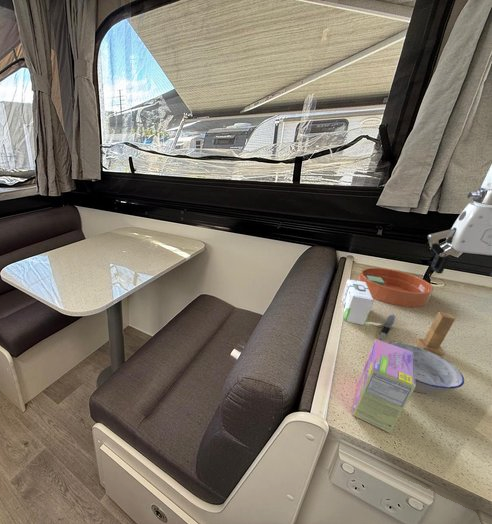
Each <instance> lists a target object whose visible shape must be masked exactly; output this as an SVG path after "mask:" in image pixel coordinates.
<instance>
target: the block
mask: <svg viewBox="0 0 492 524" xmlns="http://www.w3.org/2000/svg"><path fill="white" fill-rule="evenodd" d="M366 278H367V279H369V280H371V281H372V282H374V283H377V284H379V285H382V286H383V285H384V281H383V280H382V278H381V277H374V276H368V275H367V276H366Z"/></svg>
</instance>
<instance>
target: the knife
mask: <svg viewBox="0 0 492 524" xmlns="http://www.w3.org/2000/svg"><path fill="white" fill-rule="evenodd" d="M394 321H395V314H390V315H388V316H387V317H386V320H385V322H384V324H377V325H376V328H379V327H380V328H382V329H381V331H380V334H378V335H377V338H379V339H381V340H385V339H386V338H387V336H388V334H389V332H390V331H391V330H392V328H393V327H392V326H393V323H394Z"/></svg>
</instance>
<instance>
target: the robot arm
mask: <svg viewBox="0 0 492 524" xmlns="http://www.w3.org/2000/svg"><path fill="white" fill-rule="evenodd" d="M467 199H472V200H473V202H469V203H468V204H467V205H466V206H465V207H464V209H463V210H462V211H461V212H460V214H459V215H458V217H457V218H456V220H455V221H454V223H453V224H452V227H451V228H450V229H447V230H442V231H438V232H434V233H430V234H428V235H427V236H426V237H427V240H428V244H429V245H428V246H429V247H430V248H431V249H432V250H433V252H434V253H435V255H434V258H433V260H432V262H431V264H430V267H431V269H432V270H433V271H434V272H435V273H436V274H439V275H440V274H443V272H444V270H445V268H446V266H447V264H448V262H449V259H450V258H449V257H448V256H450V255H452V254H454V253H456V252H459V253H465V254H472V255H473V254H474V255H483V256H492V164H491V165H490V167H489V169H488V171H487V173H486V175H485V178H484V179H483V182H482V184H481V186H480V187H479V188H478V189H477V191H476V190H475V191H469V192H468V194H467ZM443 239H445V243H444V244H442V245H440V243H439V242H440V240H443ZM489 276H491V277H492V271H491V272H490V273H489Z"/></svg>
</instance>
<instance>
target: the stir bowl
mask: <svg viewBox="0 0 492 524" xmlns="http://www.w3.org/2000/svg"><path fill="white" fill-rule="evenodd" d="M367 275H368V276H374V277H381V278H382V280H383V281H384V285H383V286H382V285H379V284H377V283H374V282H372V281H371V280H369V279H367V278H366V276H367ZM357 281H362V282H366V284H367V286H368V289H369V291H370V293H371V295H372V298H373V300H374V299H375V300H377V301H380V302H383V303H386V304H389V305H394V306H399V307H403V308H404V307H406V308H421V307H425V306H426V305H427V304H428V303H429V300H430V298H431V296H432V294H433V292H434V286H433V285H432V284H431V283H430V282H428V281H426V280H425V279H423V278H420V277H418V276H416V275H413V274H410V273H407V272H404V271H401V270H396V269H390V268H383V267H367V268H363V269H362V270H361V271H360V273H359V275H358V278H357Z"/></svg>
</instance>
